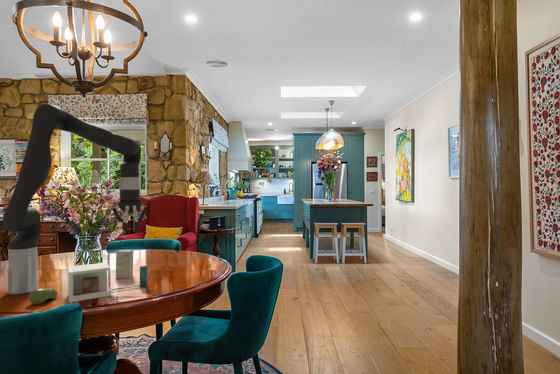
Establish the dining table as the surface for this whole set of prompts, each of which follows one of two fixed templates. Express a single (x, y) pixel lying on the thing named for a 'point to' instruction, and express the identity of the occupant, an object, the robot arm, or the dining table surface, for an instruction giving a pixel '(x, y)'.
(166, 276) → the dining table surface
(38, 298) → the pear
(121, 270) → the skincare box
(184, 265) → the dining table surface
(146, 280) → the block with cord
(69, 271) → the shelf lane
